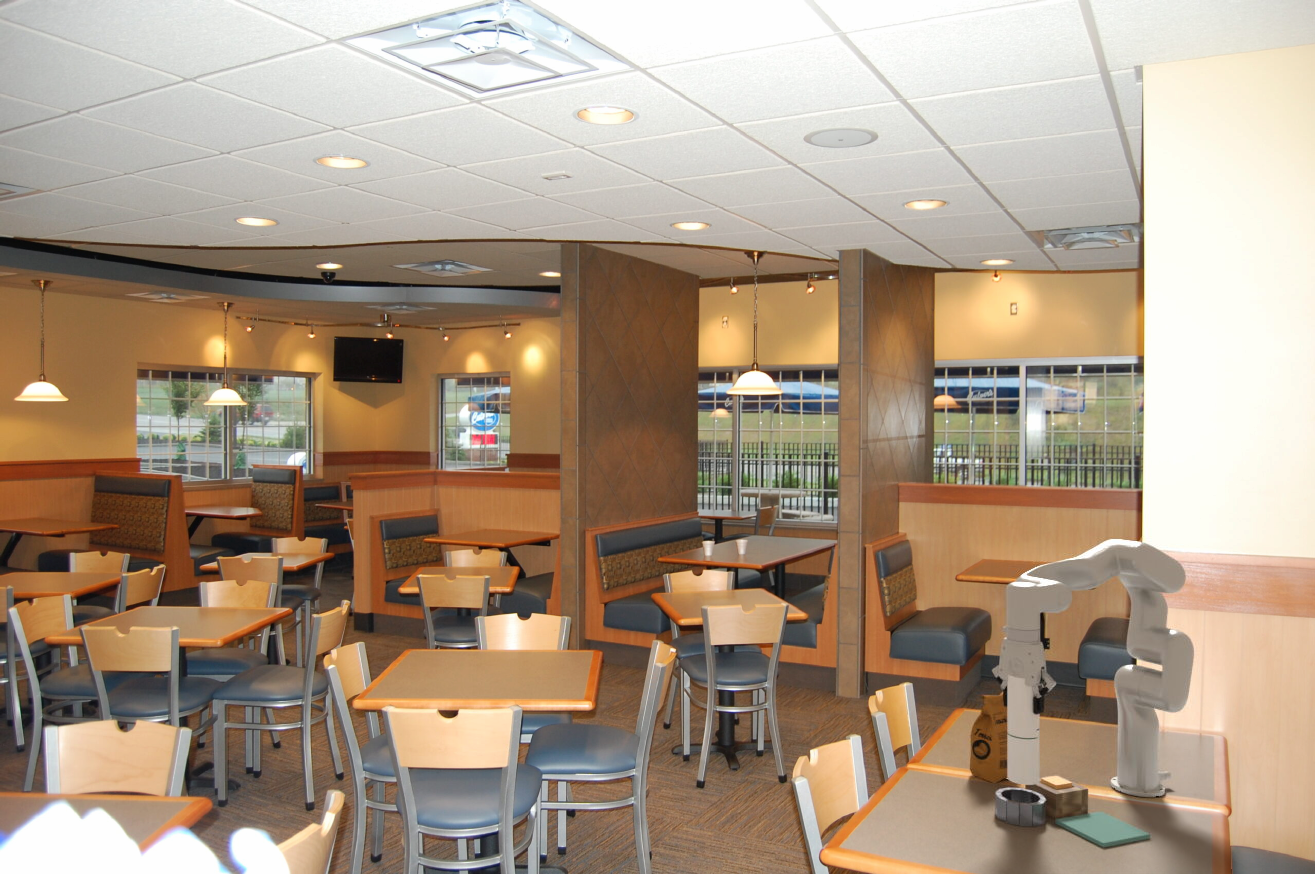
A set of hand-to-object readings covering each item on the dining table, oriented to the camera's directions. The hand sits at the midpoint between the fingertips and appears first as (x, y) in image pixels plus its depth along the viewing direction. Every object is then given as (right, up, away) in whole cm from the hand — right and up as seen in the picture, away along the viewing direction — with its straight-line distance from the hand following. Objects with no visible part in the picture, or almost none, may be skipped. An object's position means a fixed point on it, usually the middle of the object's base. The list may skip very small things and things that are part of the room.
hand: (1023, 708), depth 232 cm
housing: (+10, -26, +5) cm, 28 cm away
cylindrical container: (0, -17, 0) cm, 17 cm away
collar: (-1, -26, 0) cm, 26 cm away
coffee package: (+3, -26, +28) cm, 38 cm away
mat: (+15, -26, -8) cm, 31 cm away
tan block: (+10, -24, +5) cm, 27 cm away
